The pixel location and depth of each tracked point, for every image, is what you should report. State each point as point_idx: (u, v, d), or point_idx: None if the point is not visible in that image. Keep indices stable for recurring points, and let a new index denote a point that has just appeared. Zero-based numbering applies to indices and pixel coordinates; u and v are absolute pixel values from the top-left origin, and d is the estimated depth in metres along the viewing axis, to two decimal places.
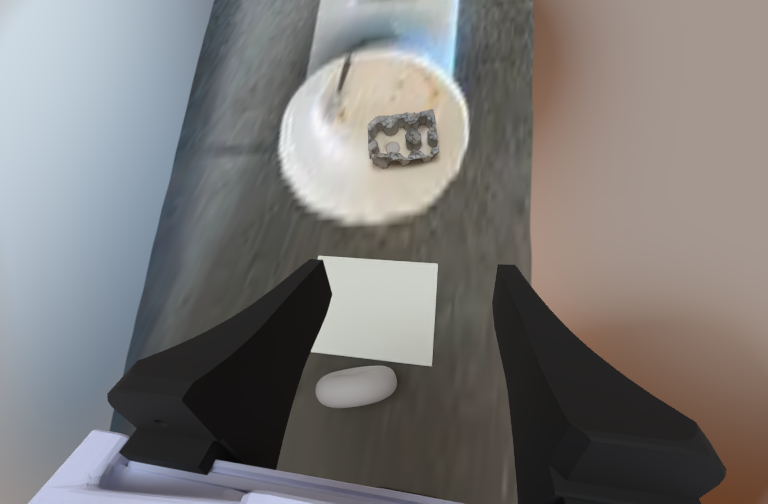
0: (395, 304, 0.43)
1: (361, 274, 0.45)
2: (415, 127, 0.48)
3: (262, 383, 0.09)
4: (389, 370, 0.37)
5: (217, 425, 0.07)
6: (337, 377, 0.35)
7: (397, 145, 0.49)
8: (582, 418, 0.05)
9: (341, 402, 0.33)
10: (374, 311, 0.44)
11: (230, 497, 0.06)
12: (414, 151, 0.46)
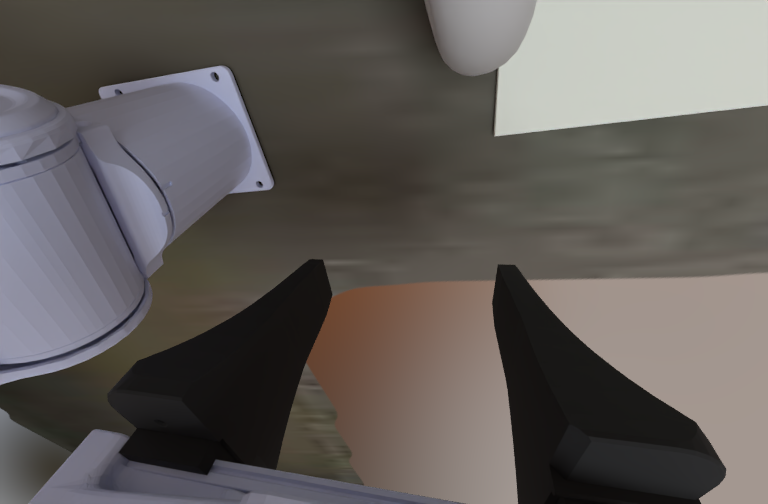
0: None
1: None
2: None
3: (262, 383, 0.09)
4: None
5: (217, 425, 0.07)
6: None
7: None
8: (582, 418, 0.05)
9: None
10: None
11: (230, 497, 0.06)
12: None
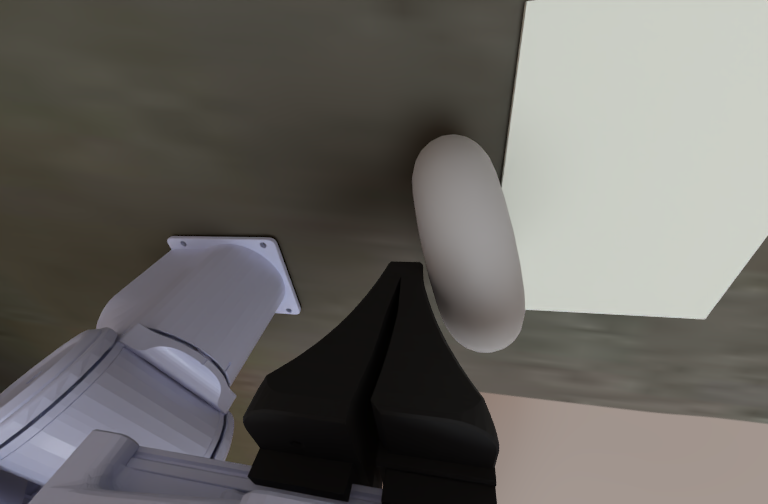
0: (629, 249, 0.18)
1: (765, 156, 0.14)
2: None
3: None
4: None
5: (358, 447, 0.07)
6: (518, 259, 0.11)
7: None
8: (386, 395, 0.06)
9: (456, 306, 0.11)
10: (622, 205, 0.17)
11: (230, 497, 0.06)
12: None
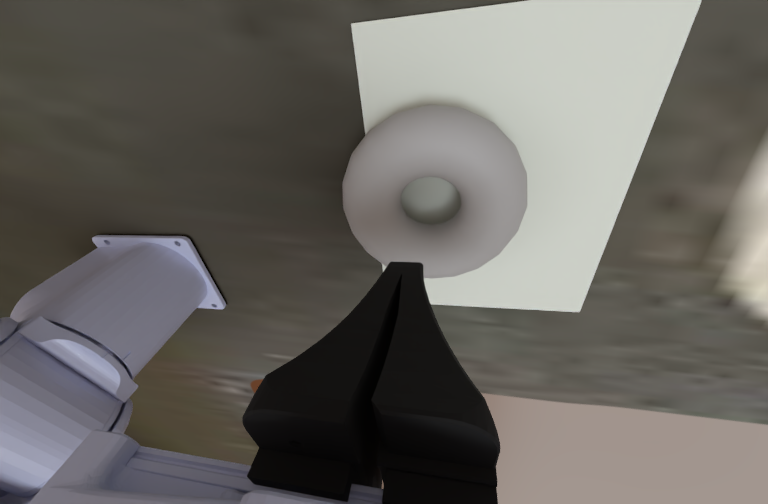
0: None
1: (587, 161, 0.16)
2: None
3: None
4: None
5: (358, 447, 0.07)
6: None
7: None
8: (387, 395, 0.06)
9: (525, 195, 0.15)
10: None
11: (230, 497, 0.06)
12: None
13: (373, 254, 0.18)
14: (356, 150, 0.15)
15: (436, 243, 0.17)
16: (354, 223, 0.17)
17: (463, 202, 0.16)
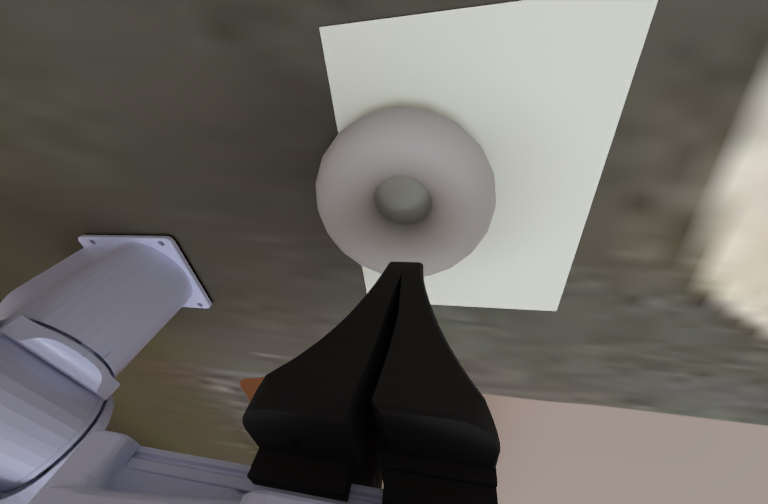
0: None
1: (555, 162, 0.16)
2: None
3: None
4: None
5: (358, 447, 0.07)
6: None
7: None
8: (387, 395, 0.06)
9: (492, 196, 0.15)
10: None
11: (230, 497, 0.06)
12: None
13: (348, 254, 0.18)
14: (327, 151, 0.16)
15: (409, 243, 0.17)
16: (327, 223, 0.17)
17: (433, 202, 0.16)
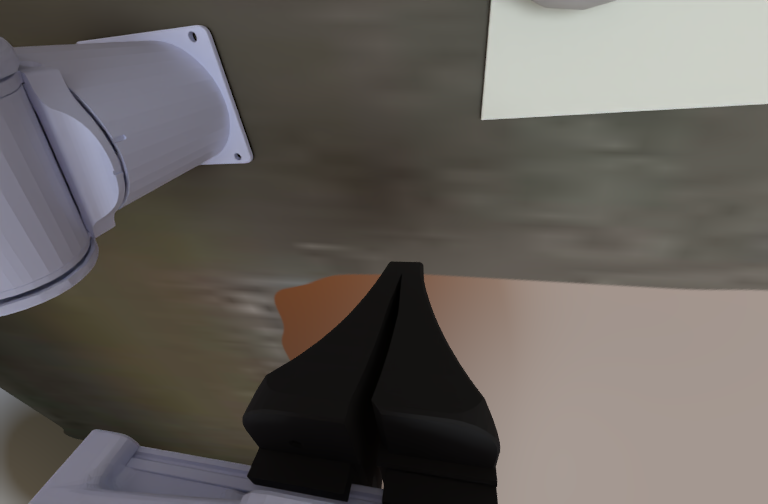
0: None
1: None
2: None
3: None
4: None
5: (358, 447, 0.07)
6: None
7: None
8: (387, 395, 0.06)
9: None
10: None
11: (230, 497, 0.06)
12: None
13: None
14: None
15: None
16: None
17: None
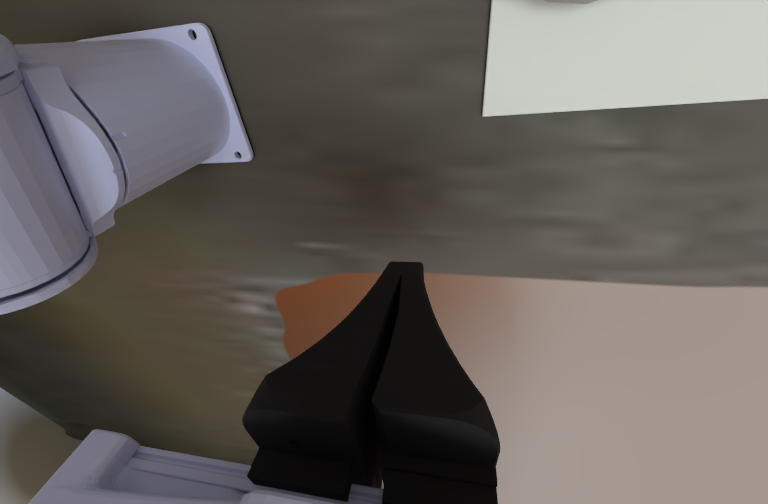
0: None
1: None
2: None
3: None
4: None
5: (358, 447, 0.07)
6: None
7: None
8: (386, 395, 0.06)
9: None
10: None
11: (230, 497, 0.06)
12: None
13: None
14: None
15: None
16: None
17: None
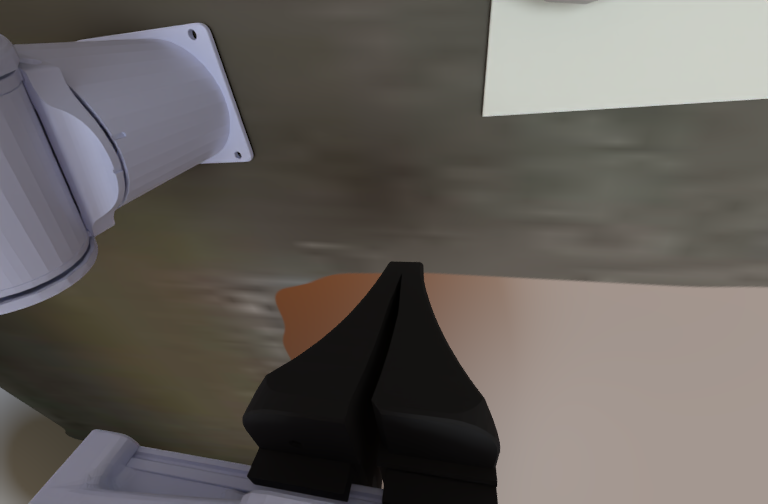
0: None
1: None
2: None
3: None
4: None
5: (358, 447, 0.07)
6: None
7: None
8: (386, 395, 0.06)
9: None
10: None
11: (230, 497, 0.06)
12: None
13: None
14: None
15: None
16: None
17: None
